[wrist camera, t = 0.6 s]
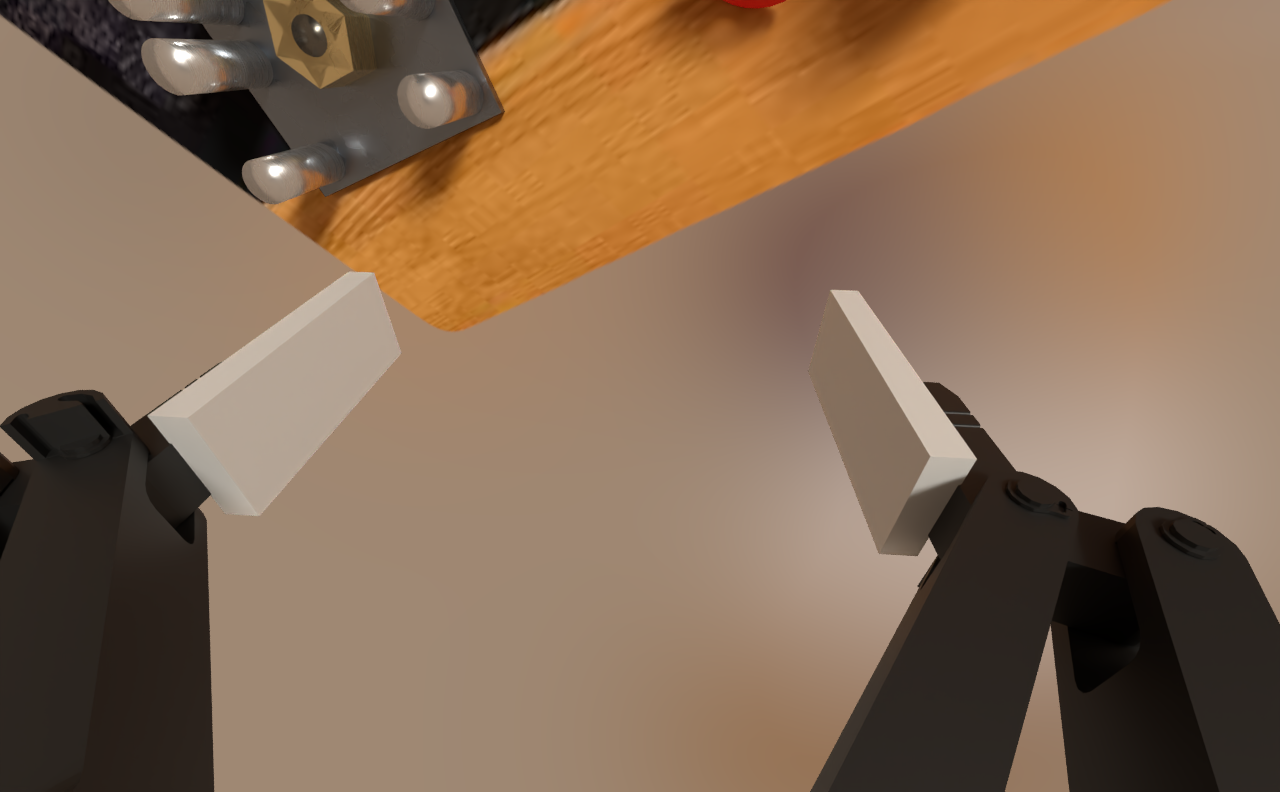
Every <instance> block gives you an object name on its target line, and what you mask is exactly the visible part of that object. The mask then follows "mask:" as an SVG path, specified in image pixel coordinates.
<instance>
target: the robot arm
mask: <svg viewBox="0 0 1280 792" xmlns="http://www.w3.org/2000/svg"><path fill="white" fill-rule="evenodd" d="M400 354H401V350H400V347H399V344H398V341H397V339H396V336H395V333H394V330H393V327H392V324H391V321H390V318H389V315H388V312H387V309H386V307H385V303H384V301H383V298H382V295H381V292H380V289H379V286H378V283H377V280H376V277H375V274H374V273H370V272H347V273H346V274H345V275H343V276H342V277H341V278H339V279H338V280H336V281H335V282H333V283H332V284H331V285H329V286H328V287H327V288H325V289H324V290H322V291H321V292H320V293H318V294H317V295H315V296H314V297H313V298H311V299H310V300H308V301H307V302H306V303H304V304H303V305H301V306H300V307H299V308H297V309H296V310H294V311H293V312H292V313H290V314H289V315H287V316H286V317H285V318H283V319H282V320H280V321H279V322H278V323H276V324H275V325H273V326H272V327H271V328H269V329H268V330H266V331H265V332H264V333H262V334H261V335H259V336H258V337H257V338H255V339H254V340H253V341H251V342H250V343H248V344H247V345H245V346H244V347H243V348H241V349H240V350H238V351H237V352H236V353H234V354H233V355H232V356H230V357H229V358H227V359H226V360H225V361H223V362H220V363H218V364H217V365H216V366H214V367H213V368H211V369H210V370H208V371H207V372H206V373H204V374H203V375H201V376H200V378H199V379H196V380H194V381H193V382H192V383H190V384H189V385H187V386H186V387H185V389H184V390H180V391H179V392H177V393H176V394H175V395H173V396H172V397H171V398H169V399H168V400H166V401H165V402H163V403H162V404H161V405H159V406H158V407H157V408H155V409H154V410H152V411H151V412H150V413H148V414H147V415H145V416H144V417H142V418H141V419H140V420H138V421H137V422H135V423H134V424H133V425H131V426H130V425H129V424H128V423H127V422H126V421H125V419H124V418H123V417H122V416H121V415H120V413H119V412H118V411H117V410H116V409H115V407H114V406H113V405H112V404H111V403H110V401H109V400H108V399H107V398H106V397H105V395H104V394H103V393H101V392H98V391H95V390H77V391H72V392H67V393H62V394H58V395H55V396H52V397H48V398H45V399H42V400H39V401H37V402H35V403H33V404H30V405H28V406H26V407H24V408H22V409H20V410H18V411H17V412H15V413H14V414H12V415H11V416H9V417H7V418H6V420H5V421H4V422H3V423H2V424H1V425H0V427H1V428H2V429H3V430H4V431H5V432H6V433H7V434H8V435H9V436H10V437H11V438H12V439H13V440H14V441H15V442H16V443H17V444H19V445H20V446H21V447H22V448H23V449H24V450H25V451H26V452H27V453H28V454H29V455H30V456H31V457H32V458H33V459H32V460H26V461H19V462H13V463H11V462H10V461H9V460H8V459H7V458H6V457H5V456H4V455H3V454H1V453H0V792H214V769H213V735H212V734H213V732H212V696H211V662H210V630H209V629H210V625H209V589H208V554H207V520H206V518H205V516H204V514H203V513H202V511H201V510H200V509H199V508H198V507H199V506H200V505H201V504H202V503H203V502H204V501H205V500H206V499H207V498H208V497H209V496H210V495H211V496H212V498H213V499H214V500H215V501H216V503H217V504H218V505H219V506H220V508H221V509H222V510H223V512H225V514H235V515H251V516H252V515H253V516H260V515H261V514H262V512H263V511H264V510H265V509H266V508H267V507H268V506H269V504H270V503H271V502H272V501H273V500H274V499H275V498H276V496H277V495H278V494H279V493H280V492H281V491H282V490H283V488H284V487H285V486H286V485H287V484H288V482H289V481H290V480H291V479H292V478H293V477H294V476H295V475H296V473H297V472H298V471H299V470H300V469H301V468H302V467H303V465H304V464H305V463H306V462H307V461H308V460H309V458H310V457H311V456H312V455H313V454H314V453H315V451H317V449H318V448H319V447H320V446H321V445H322V443H323V442H324V441H325V440H326V439H327V438H328V437H329V436H330V434H331V433H332V432H333V431H334V430H335V429H336V428H337V426H338V425H339V424H340V423H341V422H342V421H343V420H344V418H345V417H346V416H347V415H348V414H349V413H350V412H351V410H352V409H353V408H354V407H355V406H356V405H357V403H358V402H359V401H360V400H361V399H362V398H363V396H364V395H365V394H366V393H367V392H368V391H369V390H370V388H371V387H372V386H373V385H374V384H375V383H376V382H377V381H378V379H379V378H380V377H381V376H382V375H383V374H384V373H385V371H386V370H387V369H388V368H389V367H390V366H391V364H392V363H393V362H394V361H395V360H396V359H397V358H398V356H399V355H400ZM808 372H809V375H810V377H811V380H812V382H813V385H814V388H815V390H816V393H817V395H818V398H819V401H820V403H821V405H822V408H823V411H824V413H825V416H826V419H827V421H828V424H829V426H830V429H831V431H832V434H833V437H834V439H835V442H836V444H837V447H838V449H839V452H840V455H841V457H842V460H843V462H844V465H845V468H846V470H847V473H848V475H849V478H850V480H851V483H852V486H853V488H854V490H855V493H856V496H857V498H858V501H859V504H860V506H861V509H862V511H863V514H864V516H865V519H866V522H867V524H868V527H869V529H870V532H871V534H872V537H873V539H874V542H875V545H876V547H877V550H878V553H879V554H891V555H907V556H918V554H919V553H920V551H921V549H922V548H923V546H924V545H925V543H926V541H927V540H928V538H930V540H931V542H932V544H933V546H934V548H935V550H936V552H937V554H938V556H937V557H936V559H935V560H934V562H933V563H932V565H931V566H930V568H929V569H928V571H927V572H926V574H925V575H924V577H923V578H922V580H921V582H920V583H919V585H918V587H919V589H918V591H917V593H916V595H915V597H914V598H913V600H912V602H911V604H910V606H909V608H908V610H907V612H906V614H905V615H904V617H903V619H902V621H901V623H900V625H899V627H898V628H897V630H896V632H895V634H894V636H893V638H892V640H891V641H890V643H889V645H888V647H887V649H886V651H885V653H884V655H883V657H882V658H881V660H880V662H879V664H878V666H877V668H876V670H875V671H874V673H873V675H872V677H871V679H870V681H869V683H868V685H867V686H866V688H865V690H864V692H863V694H862V696H861V698H860V700H859V702H858V703H857V705H856V707H855V709H854V711H853V713H852V714H851V716H850V718H849V720H848V722H847V724H846V726H845V728H844V729H843V731H842V733H841V735H840V737H839V739H838V741H837V743H836V745H835V746H834V748H833V750H832V752H831V754H830V756H829V758H828V759H827V761H826V763H825V765H824V767H823V769H822V771H821V773H820V774H819V777H818V778H817V780H816V782H815V784H814V786H813V788H812V789H811V791H810V792H1005V788H1006V784H1007V781H1008V777H1009V774H1010V769H1011V766H1012V763H1013V759H1014V755H1015V752H1016V748H1017V745H1018V741H1019V737H1020V733H1021V730H1022V726H1023V723H1024V719H1025V715H1026V712H1027V708H1028V704H1029V701H1030V697H1031V693H1032V690H1033V686H1034V683H1035V679H1036V675H1037V672H1038V668H1039V664H1040V661H1041V657H1042V653H1043V649H1044V646H1045V642H1046V639H1047V635H1048V631H1049V628H1050V624H1051V631H1052V640H1053V649H1054V658H1055V667H1056V676H1057V684H1058V694H1059V702H1060V710H1061V720H1062V729H1063V738H1064V746H1065V755H1066V765H1067V773H1068V783H1069V790H1070V792H1280V624H1279V622H1278V620H1277V618H1276V616H1275V614H1274V612H1273V610H1272V608H1271V606H1270V604H1269V602H1268V600H1267V598H1266V596H1265V594H1264V592H1263V590H1262V588H1261V586H1260V584H1259V582H1258V580H1257V578H1256V576H1255V574H1254V572H1253V570H1252V568H1251V566H1250V564H1249V563H1248V560H1247V559H1246V557H1245V556H1244V555H1243V554H1242V552H1241V551H1240V550H1239V548H1238V547H1237V546H1236V545H1235V544H1234V543H1233V542H1231V541H1230V540H1229V539H1228V538H1227V537H1225V536H1224V535H1223V534H1221V533H1220V532H1219V531H1218V530H1216V529H1215V528H1213V527H1212V526H1210V525H1207V524H1206V523H1205V522H1203V521H1201V520H1198V519H1196V518H1193V517H1190V516H1188V515H1185V514H1183V513H1180V512H1178V511H1174V510H1169V509H1164V508H1160V507H1153V508H1143V509H1142V510H1140V511H1139V512H1137V513H1136V514H1135V515H1134V516H1133V517H1132V518H1131V519H1130V520H1129V521H1128V522H1127V523H1126V524H1125V523H1121V522H1117V521H1114V520H1110V519H1106V518H1102V517H1099V516H1095V515H1091V514H1088V513H1084V512H1080V511H1078V510H1077V508H1076V507H1075V505H1074V504H1073V502H1072V501H1071V499H1070V498H1069V497H1068V496H1066V495H1065V494H1064V493H1063V492H1062V491H1060V490H1059V489H1058V488H1057V487H1055V486H1053V485H1051V484H1050V483H1048V482H1046V481H1044V480H1043V479H1041V478H1038V477H1035V476H1033V475H1030V474H1027V473H1024V472H1018V471H1016V470H1015V469H1014V467H1013V466H1012V465H1011V464H1010V462H1009V461H1008V460H1007V459H1006V457H1005V456H1004V455H1003V454H1002V452H1001V451H1000V450H999V448H998V447H997V446H996V444H995V443H994V442H993V440H992V439H991V438H990V437H989V435H988V434H987V433H986V431H985V430H984V429H983V428H980V424H979V422H978V421H977V420H976V419H975V417H974V416H973V415H970V411H969V410H968V408H967V407H966V406H965V404H964V403H963V402H962V401H961V400H960V398H959V397H958V396H957V395H955V394H954V393H953V392H951V391H950V390H948V389H947V388H945V387H944V386H943V385H941V384H940V383H933V382H922V380H921V379H920V378H919V376H918V375H917V373H916V372H915V371H914V369H913V368H912V366H911V365H910V364H909V362H908V361H907V359H906V358H905V356H904V355H903V354H902V352H901V351H900V349H899V348H898V347H897V345H896V344H895V342H894V341H893V339H892V338H891V337H890V335H889V334H888V332H887V331H886V330H885V328H884V327H883V325H882V324H881V322H880V321H879V320H878V318H877V317H876V316H875V314H874V313H873V311H872V310H871V309H870V307H869V306H868V304H867V303H866V301H865V300H864V299H863V297H862V296H861V294H860V293H859V292H858V291H847V290H846V291H845V290H830V293H829V297H828V300H827V304H826V308H825V311H824V315H823V319H822V322H821V326H820V330H819V334H818V337H817V341H816V345H815V348H814V352H813V356H812V359H811V363H810V366H809V370H808Z"/></svg>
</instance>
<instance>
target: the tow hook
mask: <svg viewBox="0 0 1280 792" xmlns="http://www.w3.org/2000/svg"><path fill="white" fill-rule="evenodd" d="M724 1H725V2H727V3H729V4H732V5H736V6H739V7H743V8H764V7H770V6H773V5H776V4H779V3H782V2H784V1H786V0H724Z"/></svg>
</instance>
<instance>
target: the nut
mask: <svg viewBox="0 0 1280 792" xmlns="http://www.w3.org/2000/svg"><path fill="white" fill-rule="evenodd" d="M263 3H264V7H265V11H266V15H267V19H268V23H269V27H270V32H271V36H272V40H273V44H274V48H275V52H276V56H277V57H278V58H280V59H281V60H282V61H284V62H285V63H286V64H288V65H289V66H290V67H292V68H293V69H294V70H296V71H297V72H298V73H300V74H301V75H302V76H304V77H305V78H306V79H308V80H309V81H310V82H312V83H313V84H314V85H316V86H317V87H318V88H320V89H326V88H335V87H344V86H347V85H349V84H351V83H353V82H354V81H356V80H358V79H360V78H362V77H363V76H365V75H367V74H369V73H371V72H373V71H374V70H376V69H377V67H376V60H375V53H374V46H373V39H372V31H371V24H370V18H369V17H368V16H367V15H366V14H364V13H358V12H355V11H352V10H351V9H349V8H347V7H346V6H345V5H344V4H343V3H342V2H341V1H340V0H263Z"/></svg>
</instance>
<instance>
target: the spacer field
mask: <svg viewBox="0 0 1280 792" xmlns="http://www.w3.org/2000/svg"><path fill="white" fill-rule="evenodd" d="M108 1H109V2H110V3H111V4H112V5H113V6H114V7H115V8H116V9H117V10H118V11H119V12H120V13H122V14H123V15H125V16H127V17H129V18H131V19H134V20H142V21H160V22H178V23H196V24H202V25H203V26H204V27H205V29H206V30H207V32H208V33H209V34H210V36H211V37H212V39H213V40H202V39H159V38H152V39H148V40H146V41H145V42H144V43H143V45H142V49H141V55H142V60H143V63H144V65H145V67H146V69H147V71H148V73H149V74H150V76H151V77H152V78H153V79H154V80H155V82H156V83H157V84H158V85H160V86H161V87H162V88H163V89H165V90H166V91H168V92H170V93H173V94H176V95H190V94H201V93H213V92H224V91H235V90H246V89H249V90H250V92H251V93H252V95H253V96H254V97H255V99H256V100H257V102H258V103H259V104H260V106H261V107H262V109H263V110H264V111H265V113H266V114H267V116H268V117H269V119H270V120H271V121H272V123H273V124H274V126H275V127H276V128H277V130H278V131H279V133H280V134H281V135H282V137H283V138H284V140H285V141H286V142H287V144H288V145H289V147H290V148H291V149H292V150H288V151H284V152H280V153H276V154H272V155H268V156H264V157H260V158H256V159H252V160H249V161H247V162H246V163H245V164H244V165H243V168H242V176H243V179H244V182H245V184H246V186H247V187H248V189H249V190H250V191H251V192H252V193H253V194H254V195H255V196H256V197H257V198H258V199H260V200H262V201H264V202H266V203H269V204H278V203H281V202H284V201H286V200H289V199H292V198H294V197H297V196H299V195H302V194H305V193H307V192H310V191H313V190H315V189H318V188H319V189H320V190H321V191H322V193H323V194H324V196H325V197H326V196H329V195H331V194H333V193H335V192H337V191H339V190H341V189H344V188H346V187H348V186H350V185H352V184H354V183H356V182H358V181H360V180H362V179H364V178H367V177H369V176H371V175H373V174H375V173H377V172H379V171H381V170H383V169H385V168H387V167H390V166H392V165H394V164H396V163H398V162H400V161H402V160H404V159H406V158H408V157H411V156H413V155H415V154H417V153H419V152H421V151H423V150H425V149H427V148H429V147H431V146H434V145H436V144H438V143H440V142H442V141H444V140H446V139H448V138H450V137H452V136H454V135H457V134H459V133H461V132H463V131H465V130H467V129H469V128H471V127H473V126H475V125H477V124H480V123H482V122H484V121H486V120H488V119H490V118H492V117H494V116H496V115H498V114H501V113H503V112H505V111H504V109H503V106H502V104H501V102H500V100H499V98H498V96H497V94H496V91H495V89H494V87H493V85H492V83H491V81H490V79H489V77H488V74H487V72H486V70H485V68H484V66H483V64H482V62H481V59H480V57H479V55H478V53H477V51H476V49H475V47H474V44H473V42H472V40H471V38H470V36H469V34H468V32H467V29H466V27H465V25H464V23H463V21H462V19H461V17H460V15H459V12H458V10H457V8H456V6H455V4H454V2H453V0H340V1H341V2H342V3H343V4H344V5H345V6H346V7H347V8H349V9H351V10H352V11H355V12H358V13H364V14H366V15H367V16H368V17H369V18H370V24H371V31H372V39H373V46H374V53H375V60H376V67H377V69H376V70H374V71H373V72H371V73H369V74H367V75H365V76H363V77H362V78H360V79H358V80H356V81H354V82H353V83H351V84H349V85H347V86H344V87H335V88H326V89H320V88H318V87H317V86H316V85H314V84H313V83H312V82H310V81H309V80H308V79H306V78H305V77H304V76H302V75H301V74H300V73H298V72H297V71H296V70H294V69H293V68H292V67H290V66H289V65H288V64H286V63H285V62H284V61H282V60H281V59H280V58H278V57H277V56H276V52H275V48H274V44H273V40H272V36H271V32H270V27H269V23H268V19H267V15H266V11H265V7H264V3H263V0H108Z"/></svg>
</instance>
